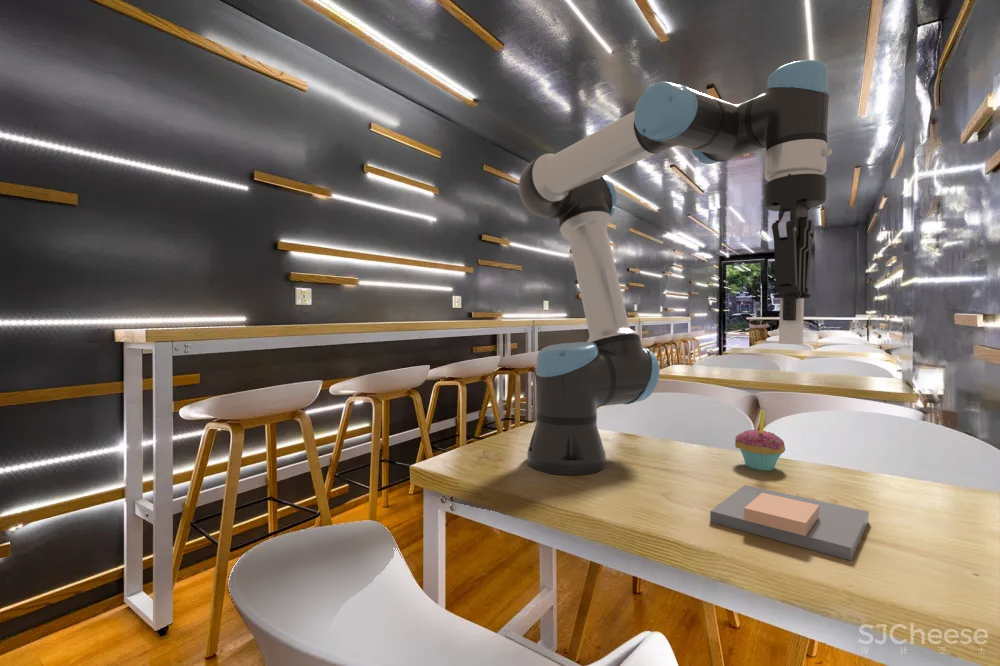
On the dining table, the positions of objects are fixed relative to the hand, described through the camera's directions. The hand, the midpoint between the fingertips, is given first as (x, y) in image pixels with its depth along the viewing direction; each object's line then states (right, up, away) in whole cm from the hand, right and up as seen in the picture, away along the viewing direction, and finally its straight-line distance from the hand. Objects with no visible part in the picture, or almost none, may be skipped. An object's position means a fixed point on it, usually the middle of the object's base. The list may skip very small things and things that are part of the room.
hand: (790, 343), depth 70 cm
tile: (-2, -22, -3) cm, 23 cm away
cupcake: (+8, -24, +23) cm, 34 cm away
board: (-2, -25, -3) cm, 25 cm away
